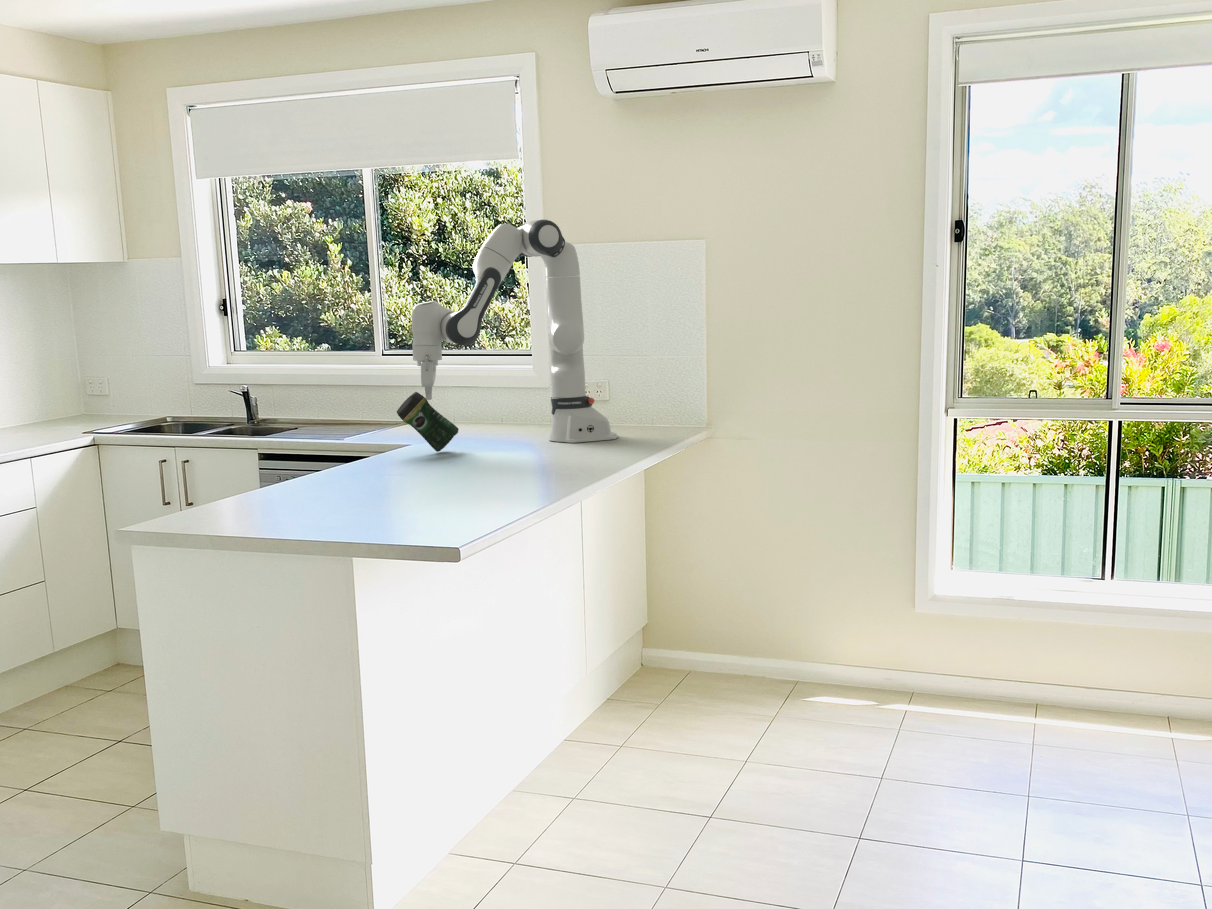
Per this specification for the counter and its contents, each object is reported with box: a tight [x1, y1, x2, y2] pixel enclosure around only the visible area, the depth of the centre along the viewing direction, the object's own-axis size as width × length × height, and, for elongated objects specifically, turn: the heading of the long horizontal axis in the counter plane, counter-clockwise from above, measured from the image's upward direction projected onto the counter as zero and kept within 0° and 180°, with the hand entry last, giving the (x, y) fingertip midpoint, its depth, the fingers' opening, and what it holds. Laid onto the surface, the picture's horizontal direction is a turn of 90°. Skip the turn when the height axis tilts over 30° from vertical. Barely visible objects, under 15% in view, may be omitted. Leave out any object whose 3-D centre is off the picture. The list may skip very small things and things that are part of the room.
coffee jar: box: [396, 391, 459, 453], centre depth 339 cm, size 10×8×19 cm
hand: (428, 399), depth 338 cm, fingers closed
